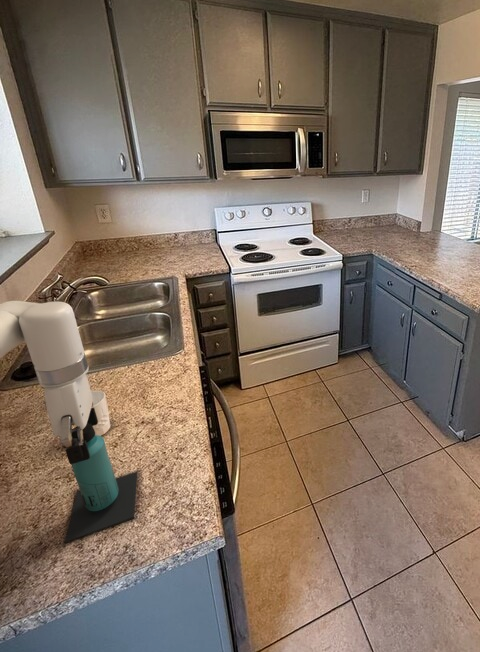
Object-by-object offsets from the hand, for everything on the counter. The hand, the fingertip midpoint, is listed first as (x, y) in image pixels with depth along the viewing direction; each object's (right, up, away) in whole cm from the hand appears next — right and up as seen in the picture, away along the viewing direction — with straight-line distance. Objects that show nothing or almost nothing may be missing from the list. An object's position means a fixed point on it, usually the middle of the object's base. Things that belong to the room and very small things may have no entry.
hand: (85, 442), depth 71 cm
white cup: (-15, -9, +26) cm, 32 cm away
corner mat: (0, -16, +6) cm, 17 cm away
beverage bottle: (0, -16, +6) cm, 17 cm away
